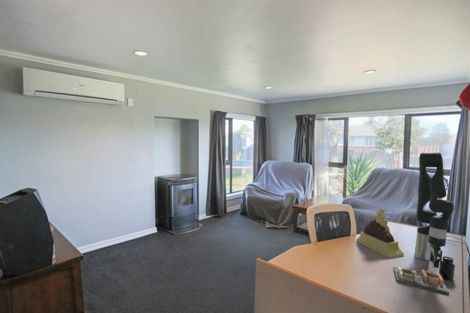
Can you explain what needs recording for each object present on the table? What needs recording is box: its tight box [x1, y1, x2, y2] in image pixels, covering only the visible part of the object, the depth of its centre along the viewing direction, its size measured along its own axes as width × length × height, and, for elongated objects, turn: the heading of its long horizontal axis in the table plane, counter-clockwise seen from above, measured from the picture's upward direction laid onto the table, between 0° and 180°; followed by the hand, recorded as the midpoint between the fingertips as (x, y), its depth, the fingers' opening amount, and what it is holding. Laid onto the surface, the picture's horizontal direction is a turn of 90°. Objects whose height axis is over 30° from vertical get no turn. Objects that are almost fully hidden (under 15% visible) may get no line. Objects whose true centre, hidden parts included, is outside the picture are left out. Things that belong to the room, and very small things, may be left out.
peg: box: [427, 260, 439, 278], centre depth 146 cm, size 4×4×10 cm
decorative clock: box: [356, 208, 405, 259], centre depth 188 cm, size 28×13×30 cm, turn 22°
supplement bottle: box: [438, 255, 456, 282], centre depth 152 cm, size 7×7×12 cm
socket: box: [420, 269, 445, 286], centre depth 146 cm, size 8×8×3 cm
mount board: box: [393, 266, 450, 296], centre depth 147 cm, size 16×23×4 cm
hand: (434, 263), depth 145 cm, fingers open, 8 cm apart
